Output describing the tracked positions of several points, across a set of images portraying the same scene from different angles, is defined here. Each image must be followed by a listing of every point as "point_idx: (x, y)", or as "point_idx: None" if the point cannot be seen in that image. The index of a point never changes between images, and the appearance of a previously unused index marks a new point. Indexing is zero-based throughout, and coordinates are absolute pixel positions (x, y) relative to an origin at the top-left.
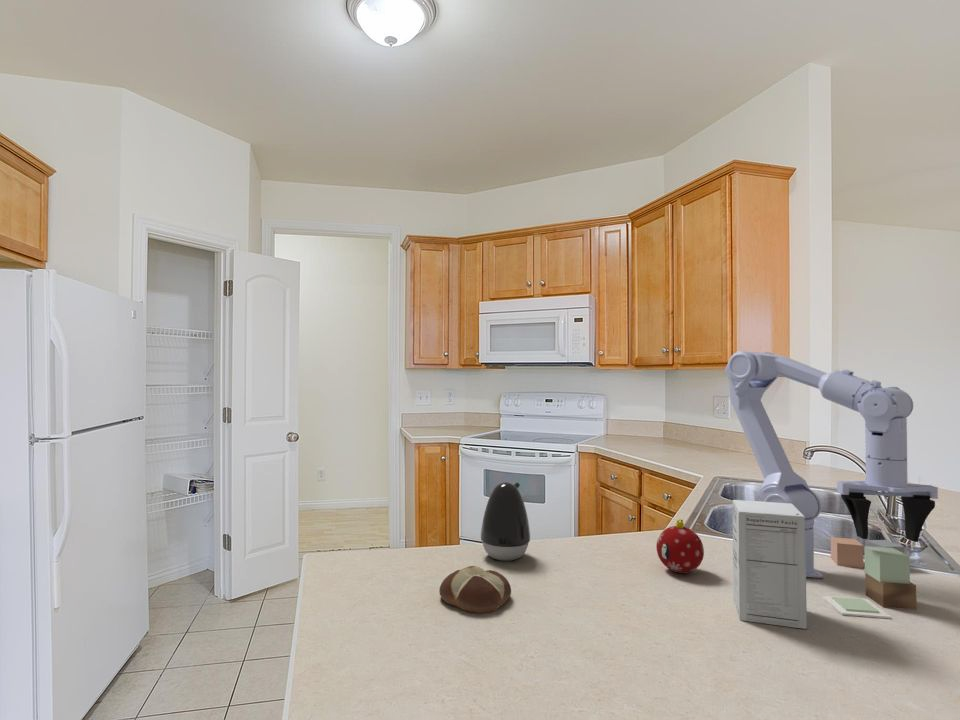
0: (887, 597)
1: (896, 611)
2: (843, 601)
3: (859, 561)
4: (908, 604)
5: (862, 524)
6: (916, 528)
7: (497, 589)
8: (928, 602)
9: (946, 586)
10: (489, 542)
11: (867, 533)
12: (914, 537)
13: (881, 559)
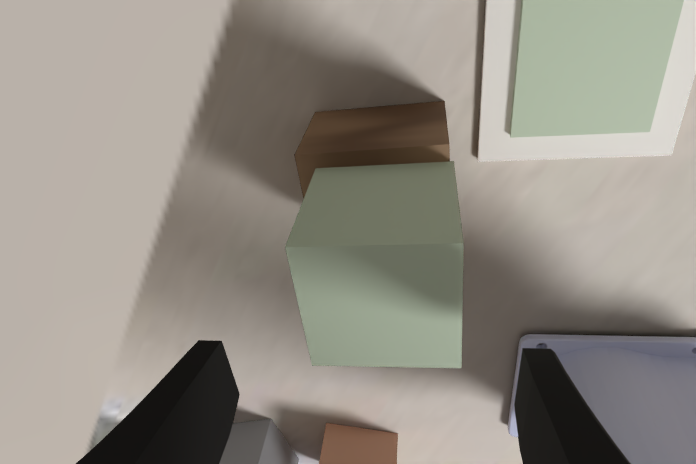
0: (427, 118)
1: (409, 67)
2: (626, 88)
3: (334, 441)
4: (342, 116)
5: (609, 441)
6: (167, 410)
7: None
8: (241, 193)
9: (139, 330)
10: None
11: (538, 376)
12: (207, 358)
13: (450, 226)
